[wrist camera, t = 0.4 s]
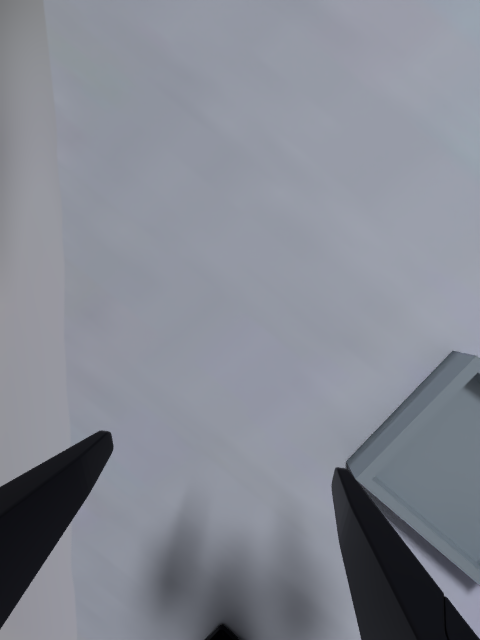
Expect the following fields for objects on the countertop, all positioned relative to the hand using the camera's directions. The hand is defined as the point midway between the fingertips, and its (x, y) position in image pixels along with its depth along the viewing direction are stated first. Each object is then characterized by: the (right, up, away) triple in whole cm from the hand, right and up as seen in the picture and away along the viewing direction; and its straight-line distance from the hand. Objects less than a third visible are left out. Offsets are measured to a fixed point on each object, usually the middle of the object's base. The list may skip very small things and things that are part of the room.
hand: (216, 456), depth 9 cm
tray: (+22, -8, +13) cm, 27 cm away
